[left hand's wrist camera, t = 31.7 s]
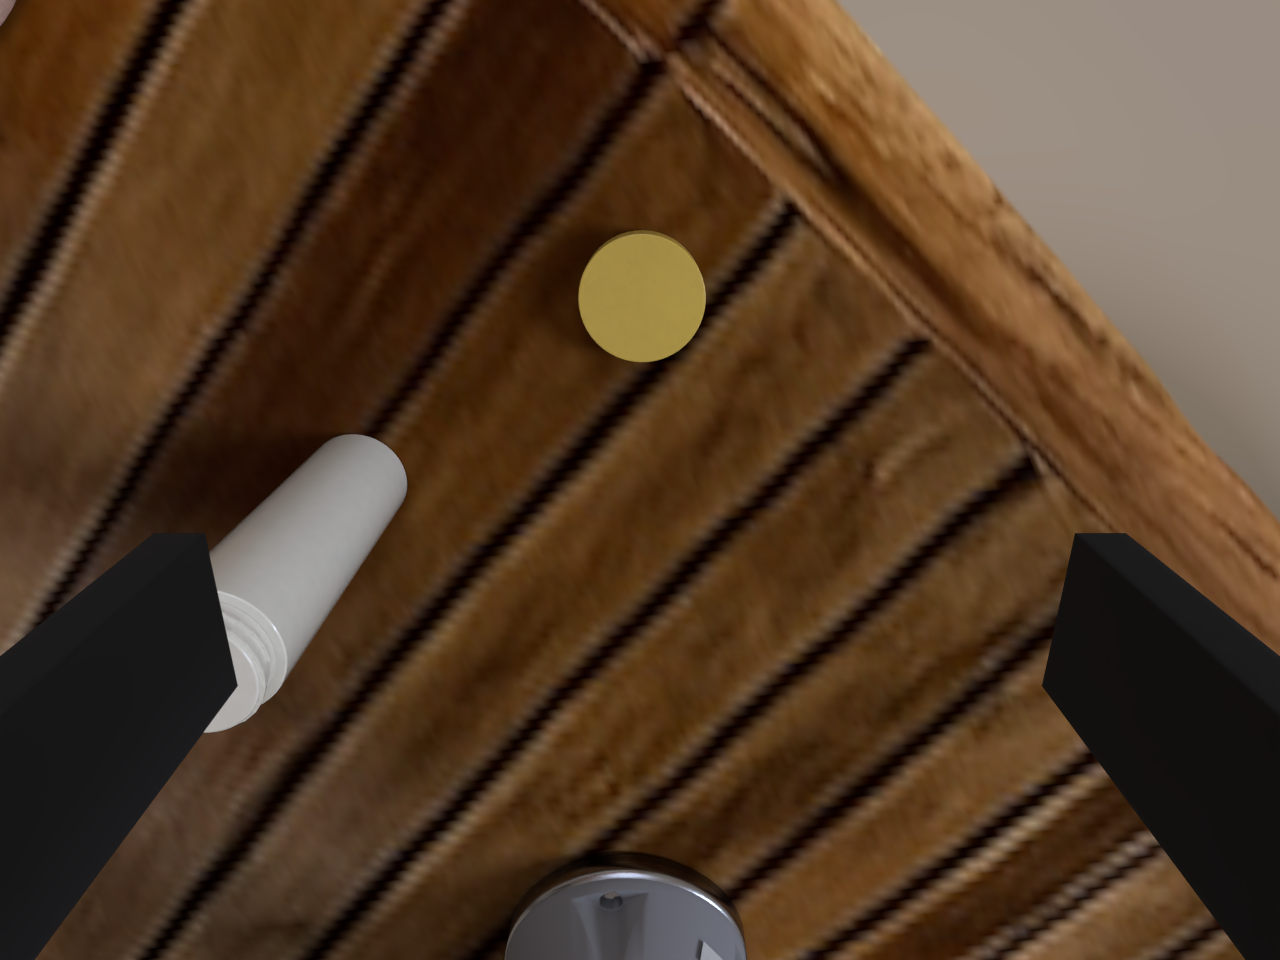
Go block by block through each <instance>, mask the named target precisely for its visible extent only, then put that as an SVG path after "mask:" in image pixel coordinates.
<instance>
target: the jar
mask: <svg viewBox="0 0 1280 960" xmlns="http://www.w3.org/2000/svg"><path fill="white" fill-rule="evenodd" d="M406 491H407V478H406V474H405V470H404V468H403V465H402V464H401V462H400V460H399V459H398V457H397V456H396V455H395V453H394V452H393V451H392V450H391V449H390V448H388V447H387V446H386V445H384V444H383V443H381V442H380V441H378V440H376V439H373V438H371V437H367V436H364V435H357V434H348V435H342V436H338V437H335V438H333V439H331V440H329V441H327V442H326V443H324V444H323V445H322V446H321V447H320V448H319V449H318V450H317V451H316V452H315V453H313V454H312V455H311V456H310V457H309V458H308V459H307V460H306V461H305V462H304V463H303V464H302V465H301V466H300V467H299V468H298V469H297V470H295V471H294V472H293V473H292V474H291V475H290V476H289V477H288V478H287V479H286V480H285V481H284V482H283V483H282V484H281V485H280V486H279V487H277V488H276V489H275V490H274V491H273V492H272V493H271V494H270V495H269V496H268V497H267V498H266V499H265V500H264V501H263V502H262V503H261V504H259V505H258V506H257V507H256V508H255V509H254V510H253V511H252V512H251V513H250V514H249V515H248V516H247V517H246V518H245V519H244V520H243V521H242V522H240V523H239V524H238V525H237V526H236V527H235V528H234V529H233V530H232V531H231V532H230V533H229V534H228V535H227V536H226V537H225V538H224V539H222V540H221V541H220V542H219V543H218V544H217V545H216V546H215V547H214V548H213V549H212V550H211V551H210V552H209V555H210V559H211V564H212V569H213V573H214V578H215V582H216V587H217V592H218V596H219V601H220V606H221V610H222V615H223V619H224V624H225V629H226V633H227V638H228V642H229V647H230V652H231V656H232V661H233V666H234V670H235V675H236V679H237V684H238V687H237V688H236V689H235V691H234V692H233V693H232V695H231V696H230V697H229V699H228V700H227V701H226V703H225V704H224V705H223V707H222V708H221V709H220V711H219V712H218V713H217V715H216V716H215V717H214V719H213V720H212V721H211V723H210V724H209V726H208V727H207V728H206V730H205V731H204V732H203V733H209V732H217V731H222V730H225V729H228V728H231V727H233V726H235V725H237V724H239V723H241V722H243V721H244V722H245V721H246V720H247V719H248V718H249V717H250V716H252V715H253V714H254V713H256V711H257V710H258V708H259V706H260V705H261V704H263V703H264V702H266V701H267V700H269V699H270V698H271V697H272V696H273V695H274V694H275V693H276V692H277V691H278V690H279V688H280V687H281V685H282V684H283V682H284V681H285V679H286V678H287V676H288V675H289V673H290V672H291V670H292V669H293V667H294V666H295V664H296V663H297V661H298V660H299V658H300V657H301V655H302V654H303V652H304V651H305V649H306V648H307V646H308V645H309V643H310V642H311V640H312V639H313V637H314V636H315V634H316V633H317V631H318V630H319V628H320V627H321V625H322V624H323V622H324V621H325V619H326V618H327V616H328V615H329V613H330V612H331V610H332V609H333V607H334V606H335V604H336V603H337V601H338V600H339V598H340V597H341V595H342V594H343V592H344V590H345V589H346V587H347V586H348V584H349V583H350V581H351V580H352V578H353V577H354V575H355V574H356V572H357V571H358V569H359V568H360V566H361V565H362V563H363V562H364V560H365V559H366V557H367V556H368V554H369V553H370V551H371V550H372V548H373V547H374V545H375V544H376V542H377V541H378V539H379V538H380V536H381V535H382V533H383V532H384V530H385V529H386V527H387V526H388V524H389V523H390V521H391V520H392V518H393V517H394V515H395V514H396V512H397V511H398V509H399V508H400V506H401V504H402V503H403V501H404V498H405V495H406Z"/></svg>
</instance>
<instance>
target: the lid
mask: <svg viewBox="0 0 1280 960" xmlns="http://www.w3.org/2000/svg"><path fill="white" fill-rule="evenodd" d="M578 302H579V310H580V315H581V318H582V321H583V323H584V326H585V328H586V330H587V331H588V333H589V334H590V336H591V337H592V338H593V340H594V341H595V342H596V343H597V344H598V345H599V346H600V347H601V348H603V349H604V350H605V351H607V352H608V353H610V354H612V355H614V356H616V357H618V358H621V359H624V360H628V361H632V362H651V361H657V360H660V359H663V358H666V357H668V356H670V355H672V354H674V353H675V352H677V351H679V350H680V349H681V348H682V347H684V346H685V345H686V344H687V343H688V342H689V341H690V340H691V338H692V337H693V335H694V334H695V333H696V331H697V329H698V327H699V325H700V323H701V320H702V318H703V314H704V310H705V302H706V295H705V286H704V282H703V278H702V275H701V273H700V271H699V268H698V266H697V264H696V262H695V261H694V259H693V257H692V256H691V255H690V253H689V252H688V251H687V250H686V249H685V248H684V247H683V246H682V245H681V244H680V243H678V242H677V241H676V240H674V239H672V238H671V237H669V236H667V235H664V234H661V233H658V232H654V231H647V230H636V231H630V232H626V233H622V234H619V235H617V236H615V237H613V238H611V239H610V240H608V241H607V242H605V243H604V244H603V245H602V246H601V247H599V248H598V250H597V251H596V252H595V253H594V254H593V256H592V257H591V259H590V260H589V262H588V264H587V266H586V268H585V270H584V272H583V275H582V278H581V281H580V286H579V294H578Z"/></svg>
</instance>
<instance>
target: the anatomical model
mask: <svg viewBox="0 0 1280 960" xmlns="http://www.w3.org/2000/svg"><path fill="white" fill-rule="evenodd" d="M15 2H16V0H0V26H1V24H2V23H3V22H4V21H5V19H6V18H7V16H8V15H9V13H10V11H11V10H12V8H13V6H14V4H15Z"/></svg>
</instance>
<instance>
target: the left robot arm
mask: <svg viewBox="0 0 1280 960" xmlns="http://www.w3.org/2000/svg"><path fill="white" fill-rule="evenodd" d="M237 687H238V684H237V679H236V675H235V670H234V666H233V661H232V656H231V652H230V647H229V642H228V638H227V633H226V629H225V624H224V619H223V615H222V610H221V606H220V601H219V596H218V592H217V587H216V582H215V578H214V573H213V569H212V564H211V559H210V555H209V550H208V546H207V541H206V536H205V533H154V534H153V535H151V536H150V537H149V538H148V539H146V540H145V541H144V542H143V543H141V544H140V545H139V546H138V547H136V548H135V549H134V550H133V551H131V552H130V553H129V554H128V555H126V556H125V557H124V558H123V559H121V560H120V561H119V562H118V563H116V564H115V565H114V566H113V567H111V568H110V569H109V570H108V571H106V572H105V573H104V574H103V575H101V576H100V577H99V578H98V579H96V580H95V581H94V582H93V583H91V584H90V585H89V586H88V587H86V588H85V589H84V590H83V591H81V592H80V593H79V594H78V595H76V596H75V597H74V598H73V599H71V600H70V601H69V602H68V603H66V604H65V605H64V606H63V607H61V608H60V609H59V610H58V611H56V612H55V613H54V614H53V615H51V616H50V617H49V618H48V619H46V620H45V621H44V622H43V623H41V624H40V625H39V626H37V627H36V628H35V629H34V630H32V631H31V632H30V633H29V634H27V635H26V636H25V637H24V638H22V639H21V640H20V641H19V642H17V643H16V644H15V645H14V646H12V647H11V648H10V649H9V650H7V651H6V652H5V653H4V654H2V655H1V656H0V960H35V958H36V957H37V956H38V954H39V953H40V952H41V950H42V949H43V948H44V946H45V945H46V944H47V942H48V941H49V939H50V938H51V937H52V935H53V934H54V933H55V931H56V930H57V929H58V927H59V926H60V925H61V923H62V922H63V921H64V919H65V918H66V917H67V915H68V914H69V913H70V911H71V910H72V909H73V907H74V906H75V904H76V903H77V902H78V900H79V899H80V898H81V896H82V895H83V894H84V892H85V891H86V890H87V888H88V887H89V886H90V884H91V883H92V882H93V880H94V879H95V878H96V876H97V875H98V874H99V872H100V871H101V870H102V868H103V867H104V865H105V864H106V863H107V861H108V860H109V859H110V857H111V856H112V855H113V853H114V852H115V851H116V849H117V848H118V847H119V845H120V844H121V843H122V841H123V840H124V839H125V837H126V836H127V835H128V833H129V832H130V830H131V829H132V828H133V826H134V825H135V824H136V822H137V821H138V820H139V818H140V817H141V816H142V814H143V813H144V812H145V810H146V809H147V808H148V806H149V805H150V804H151V802H152V801H153V800H154V798H155V797H156V796H157V794H158V793H159V791H160V790H161V789H162V787H163V786H164V785H165V783H166V782H167V781H168V779H169V778H170V777H171V775H172V774H173V773H174V771H175V770H176V769H177V767H178V766H179V765H180V763H181V762H182V761H183V759H184V758H185V756H186V755H187V754H188V752H189V751H190V750H191V748H192V747H193V746H194V744H195V743H196V742H197V740H198V739H199V738H200V736H201V735H202V734H203V732H204V731H205V730H206V728H207V727H208V726H209V724H210V723H211V721H212V720H213V719H214V717H215V716H216V715H217V713H218V712H219V711H220V709H221V708H222V707H223V705H224V704H225V703H226V701H227V700H228V699H229V697H230V696H231V695H232V693H233V692H234V691H235V689H236V688H237ZM1042 687H1043V688H1044V689H1045V691H1046V692H1047V693H1048V695H1049V696H1050V697H1051V699H1052V700H1053V701H1054V703H1055V704H1056V705H1057V707H1058V708H1059V709H1060V711H1061V712H1062V713H1063V715H1064V716H1065V717H1066V719H1067V720H1068V722H1069V723H1070V724H1071V726H1072V727H1073V728H1074V730H1075V731H1076V732H1077V734H1078V735H1079V736H1080V738H1081V739H1082V740H1083V742H1084V743H1085V744H1086V746H1087V747H1088V748H1089V750H1090V751H1091V752H1092V754H1093V755H1094V756H1095V758H1096V759H1097V761H1098V762H1099V763H1100V765H1101V766H1102V767H1103V769H1104V770H1105V771H1106V773H1107V774H1108V775H1109V777H1110V778H1111V779H1112V781H1113V782H1114V783H1115V785H1116V786H1117V787H1118V789H1119V790H1120V791H1121V793H1122V794H1123V796H1124V797H1125V798H1126V800H1127V801H1128V802H1129V804H1130V805H1131V806H1132V808H1133V809H1134V810H1135V812H1136V813H1137V814H1138V816H1139V817H1140V818H1141V820H1142V821H1143V822H1144V824H1145V825H1146V826H1147V828H1148V829H1149V830H1150V832H1151V833H1152V835H1153V836H1154V837H1155V839H1156V840H1157V841H1158V843H1159V844H1160V845H1161V847H1162V848H1163V849H1164V851H1165V852H1166V853H1167V855H1168V856H1169V857H1170V859H1171V860H1172V861H1173V863H1174V864H1175V865H1176V867H1177V868H1178V870H1179V871H1180V872H1181V874H1182V875H1183V876H1184V878H1185V879H1186V880H1187V882H1188V883H1189V884H1190V886H1191V887H1192V888H1193V890H1194V891H1195V892H1196V894H1197V895H1198V896H1199V898H1200V899H1201V900H1202V902H1203V903H1204V904H1205V906H1206V907H1207V909H1208V910H1209V911H1210V913H1211V914H1212V915H1213V917H1214V918H1215V919H1216V921H1217V922H1218V923H1219V925H1220V926H1221V927H1222V929H1223V930H1224V931H1225V933H1226V934H1227V935H1228V937H1229V938H1230V939H1231V941H1232V942H1233V944H1234V945H1235V946H1236V948H1237V949H1238V950H1239V952H1240V953H1241V954H1242V956H1243V957H1244V958H1245V960H1280V656H1279V655H1278V654H1276V653H1275V652H1274V651H1273V650H1271V649H1270V648H1269V647H1268V646H1266V645H1265V644H1264V643H1263V642H1261V641H1260V640H1259V639H1258V638H1256V637H1255V636H1254V635H1253V634H1251V633H1250V632H1249V631H1248V630H1246V629H1245V628H1244V627H1243V626H1241V625H1240V624H1239V623H1237V622H1236V621H1235V620H1234V619H1232V618H1231V617H1230V616H1229V615H1227V614H1226V613H1225V612H1224V611H1222V610H1221V609H1220V608H1219V607H1217V606H1216V605H1215V604H1214V603H1212V602H1211V601H1210V600H1209V599H1207V598H1206V597H1205V596H1204V595H1202V594H1201V593H1200V592H1199V591H1197V590H1196V589H1195V588H1194V587H1192V586H1191V585H1190V584H1189V583H1187V582H1186V581H1185V580H1184V579H1182V578H1181V577H1180V576H1179V575H1177V574H1176V573H1175V572H1174V571H1172V570H1171V569H1170V568H1169V567H1167V566H1166V565H1165V564H1164V563H1162V562H1161V561H1160V560H1159V559H1157V558H1156V557H1155V556H1154V555H1152V554H1151V553H1150V552H1149V551H1147V550H1146V549H1145V548H1144V547H1142V546H1141V545H1140V544H1139V543H1137V542H1136V541H1135V540H1134V539H1132V538H1131V537H1130V536H1129V535H1127V534H1126V533H1075V536H1074V541H1073V546H1072V550H1071V555H1070V559H1069V564H1068V569H1067V573H1066V578H1065V582H1064V587H1063V592H1062V596H1061V601H1060V606H1059V610H1058V615H1057V619H1056V624H1055V629H1054V633H1053V638H1052V642H1051V647H1050V652H1049V656H1048V661H1047V666H1046V670H1045V675H1044V679H1043V684H1042ZM505 960H747V954H746V946H745V938H744V931H743V926H742V922H741V919H740V916H739V914H738V912H737V910H736V908H735V906H734V905H733V903H732V901H731V900H730V899H729V898H728V896H727V895H726V894H725V893H724V892H723V891H722V890H721V889H720V888H719V887H718V886H717V885H716V884H715V883H713V882H712V881H711V880H710V879H708V878H707V877H705V876H704V875H702V874H700V873H699V872H697V871H695V870H693V869H691V868H689V867H686V866H684V865H682V864H679V863H676V862H673V861H670V860H666V859H662V858H658V857H652V856H645V855H634V854H619V855H606V856H599V857H594V858H589V859H585V860H582V861H578V862H575V863H572V864H570V865H567V866H565V867H563V868H561V869H559V870H557V871H555V872H553V873H551V874H550V875H548V876H546V877H545V878H543V879H542V880H541V881H539V882H538V883H537V884H536V885H535V886H534V887H533V888H531V889H530V890H529V891H528V893H527V894H526V895H525V896H524V897H523V899H522V900H521V902H520V903H519V904H518V906H517V908H516V910H515V912H514V914H513V917H512V920H511V923H510V928H509V934H508V940H507V946H506V952H505Z"/></svg>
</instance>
